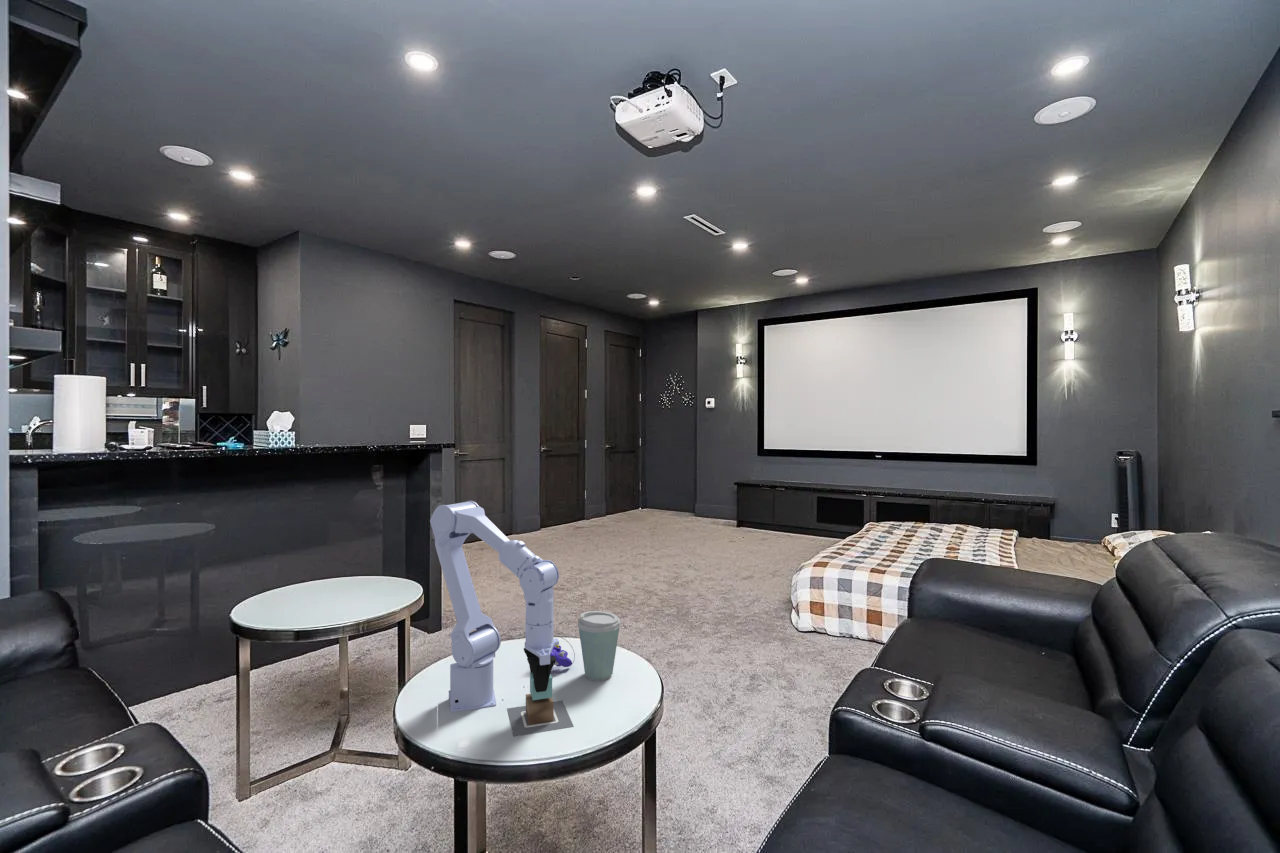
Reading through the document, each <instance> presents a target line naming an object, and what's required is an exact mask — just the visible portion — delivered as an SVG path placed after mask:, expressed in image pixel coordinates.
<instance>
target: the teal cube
mask: <svg viewBox="0 0 1280 853" xmlns="http://www.w3.org/2000/svg"><path fill="white" fill-rule="evenodd" d="M529 694H531V697H532V700H539V699H545V698H552V699H553V676H552V674H551V673H550V677H549V682H548V686H547V690H546V691H543V692H536V689H535V685H534V679H533V673H531V672H530V673H529Z"/></svg>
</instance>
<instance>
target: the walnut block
mask: <svg viewBox="0 0 1280 853" xmlns="http://www.w3.org/2000/svg"><path fill="white" fill-rule="evenodd" d="M554 701H555V700H553V697H552V698H545V699H539V700H532V697H531V694H530V693H527V694H526V693H525V706H526V716H527V720H528V723H529V725H532V724H538V723H544V722H551V721H554Z"/></svg>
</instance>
